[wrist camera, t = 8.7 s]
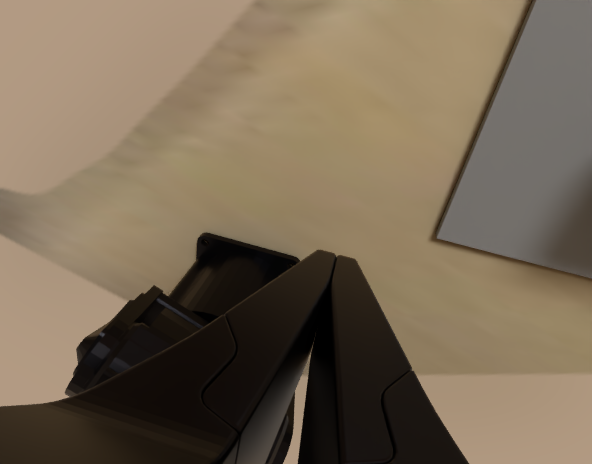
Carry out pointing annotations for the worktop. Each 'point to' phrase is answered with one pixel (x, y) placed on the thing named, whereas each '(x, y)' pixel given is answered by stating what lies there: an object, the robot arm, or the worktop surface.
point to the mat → (534, 149)
